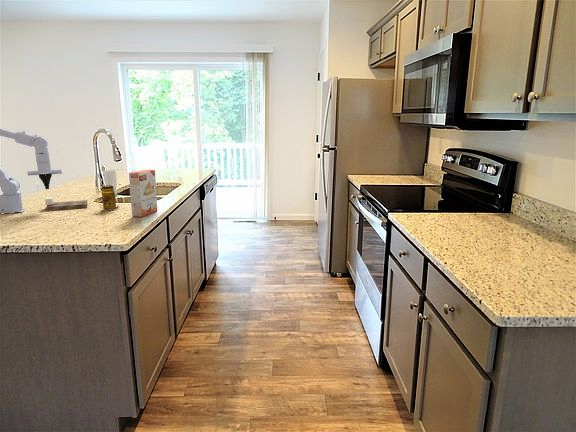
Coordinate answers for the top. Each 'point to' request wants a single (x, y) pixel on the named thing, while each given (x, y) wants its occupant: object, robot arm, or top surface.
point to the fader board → (67, 205)
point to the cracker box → (143, 192)
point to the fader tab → (49, 201)
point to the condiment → (108, 198)
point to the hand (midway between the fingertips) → (47, 188)
